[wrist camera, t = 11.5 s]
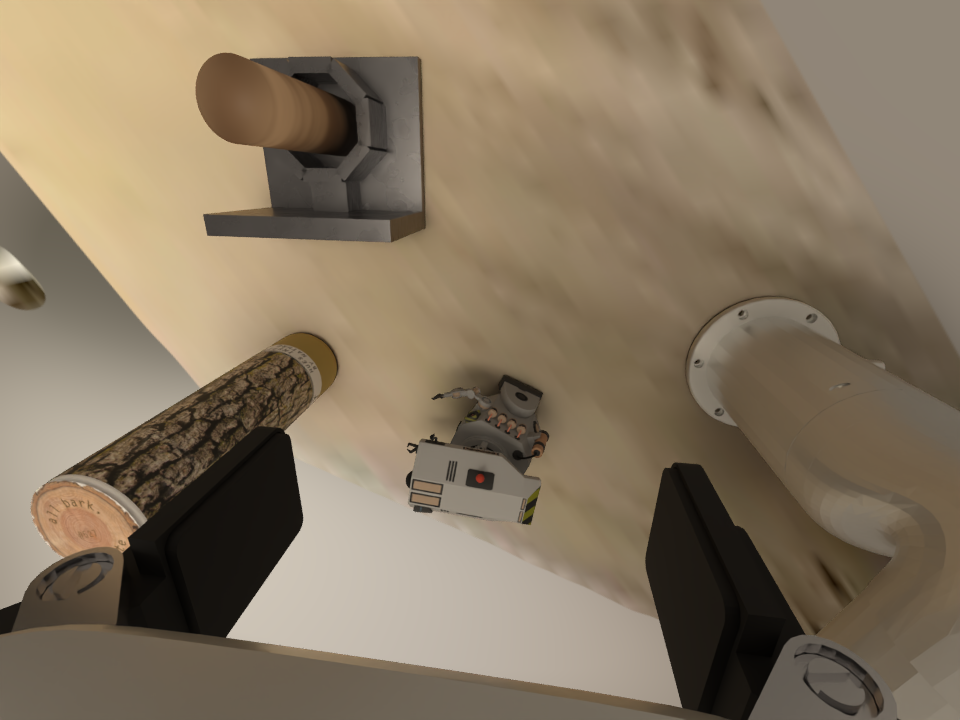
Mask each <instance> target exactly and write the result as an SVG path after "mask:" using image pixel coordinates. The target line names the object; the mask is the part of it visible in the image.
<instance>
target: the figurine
mask: <svg viewBox="0 0 960 720" xmlns="http://www.w3.org/2000/svg"><path fill="white" fill-rule="evenodd" d="M499 390H501V394H496V395H492V396H488V397H486V396H482V395H481V394H480V393H481V391H480V389H479V388H478V387H474V388H473V389H472V390H471V389H463V388H461V387H460V388H455V389H453V390H452V391H451V392H447V393H444V394H437V395H436V396H435V397H434V398H432V399H433V400H435V399H437V398H441V399H442V398H444V397H450V396H452V398H460V397H462V396H465V397H466V396H467V397H468V398H470V399H473V398H476V399H477V400H478V402H477V404H476V405H475V406H474V407H473V409H472V410H471V411H470V412H469V413H468V415H467V416H466V417H465V419H464V420H463V421H461V422H462V423H461V422H460V423H459V425H458V427H457V430H456V433H455V435H454V437H453V439H452V441H451V443H450V444H449V443H443V442H438V441H437V437H434V436H435V434H433V435H431V436H430V439H431V440H427V439H421V440H420V442H419V445H416V444H412V443H408V446H409V445H411V446H413V447H415V448H414V449H413V450H411V451H410V450H409V449H407V450H408V451H409V453H412V452H414V451H416V454H417V455H416V459H415V463H414V468H413V471H411V472H410V473H409V474H408V475H407V477H406V484H407V486H408V487H409V488H410V491H409V498H408V504H409V505H410V507H414V510H413V511H415V512H424V513H432V512H433V511H438V512H444V513H449V514H455V515H460V516H466V517H471V518H477V519H482V520H488V521H509V522H515V523H520V524H528V525H531V521H532V517H533V513H534V510H535V506H536V502H537V498H538V494H539V490H540V487H541V480H540V478H538V477H533V476H527V475H524V473H525V471H526V470H527V468H528V467H529V465H530V462H531V459H532V457H536V458H539V457H541V456H542V454H543V452H544V450H545V446H546V442H547V441H548V439H549V434H548V433H547V432H546V431H544V430H540V427H539V424H538V421H537V418H536V415H535V413H534V412H535V410H536V408H537V407H538V405H539V401H540V399H541V397H542V394H543V393H541V392H539V391H537V390H536V389H533V388H530V387H529V386H527V385H524V384H522V383H520V382H518V381H517V380H513V379H511V378H510V377H507V376H505V375H504V376H503V378H502V380H501V382H500V383H499ZM434 439H435V441H433V440H434ZM408 446H407V447H408Z"/></svg>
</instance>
